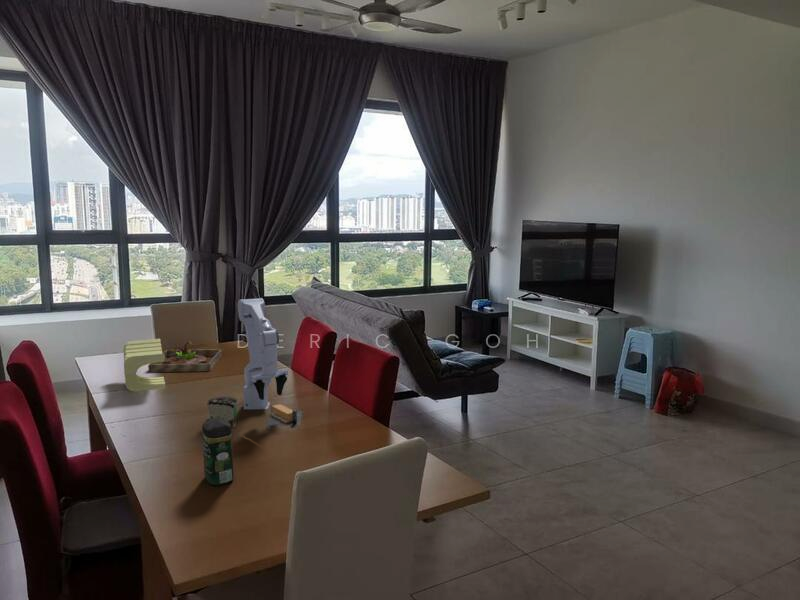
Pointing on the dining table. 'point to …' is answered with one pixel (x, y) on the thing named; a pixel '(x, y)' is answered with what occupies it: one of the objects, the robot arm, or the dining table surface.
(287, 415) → the yellow rectangular bar
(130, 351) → the slatted curved stool
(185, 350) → the plant
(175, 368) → the square wooden planter tray
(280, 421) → the tray
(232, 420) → the food container
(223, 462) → the coffee jar
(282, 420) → the label near
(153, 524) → the dining table surface
